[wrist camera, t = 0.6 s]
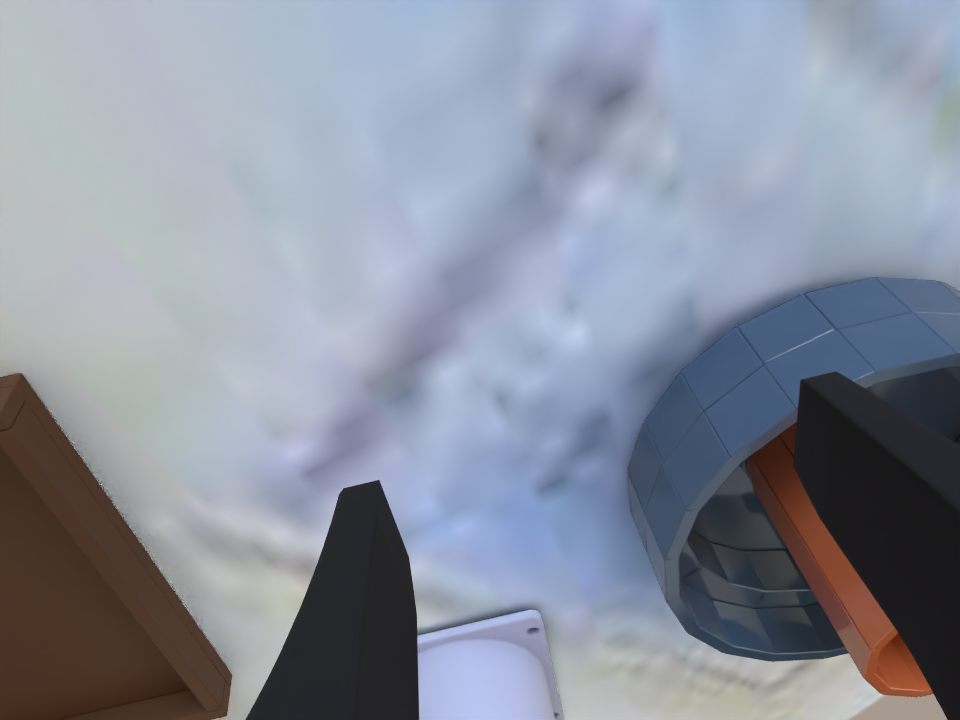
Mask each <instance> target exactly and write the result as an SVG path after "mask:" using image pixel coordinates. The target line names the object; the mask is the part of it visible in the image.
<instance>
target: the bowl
mask: <svg viewBox="0 0 960 720" xmlns="http://www.w3.org/2000/svg"><path fill="white" fill-rule="evenodd" d="M835 371H837V372H838V373H840V374H842V375H844V376H845V377H847V378H849V379H850V380H852V381H854V382H855V383H857V384H858V385H860V386H862V387H863V388H865V389H867V390H868V391H870V392H871V393H873V394H875V395H876V396H878V397H880V398H881V399H883V400H884V401H886V402H888V403H889V404H891V405H893V406H894V407H896V408H897V409H899V410H901V411H902V412H904V413H906V414H907V415H909V416H911V417H912V418H914V419H916V420H917V421H919V422H921V423H922V424H924V425H926V426H927V427H929V428H931V429H932V430H934V431H936V432H937V433H939V434H941V435H943V436H944V437H946V438H948V439H950V440H951V441H953V442H955V443H957V444H958V445H960V291H959V290H957V289H955V288H953V287H951V286H949V285H946V284H944V283H942V282H940V281H933V280H915V279H897V278H878V277H876V278H868V279H864V280H859V281H855V282H851V283H846V284H842V285H838V286H833V287H829V288H824V289H820V290H816V291H811V292H807V293H805V294H804V295H800V296H798V297H796V298H794V299H792V300H790V301H788V302H786V303H784V304H782V305H780V306H778V307H776V308H774V309H772V310H770V311H768V312H765V313H763V314H761V315H759V316H757V317H755V318H753V319H751V320H749V321H747V322H745V323H743V324H741V325H739V326H738V327H737V328H736V327H735V328H733V329H732V330H731V331H730V332H728V333H727V334H726V335H725V336H723V337H722V338H721V339H720V340H719V341H717V342H716V343H715V344H714V345H712V346H711V347H710V348H709V349H707V350H706V351H705V352H704V353H703V354H701V355H700V356H699V357H698V358H696V359H695V360H694V361H693V362H692V363H690V364H689V365H688V366H687V367H685V368H684V369H683V370H682V371H681V373H680V374H679V375H678V376H677V377H676V379H675V380H674V381H673V383H672V384H671V385H670V387H669V388H668V389H667V391H666V392H665V394H664V395H663V396H662V398H661V399H660V400H659V402H658V403H657V404H656V406H655V407H654V408H653V410H652V411H651V412H650V414H649V415H648V416H647V418H646V419H645V421H644V423H643V425H642V428H641V431H640V434H639V437H638V440H637V443H636V446H635V449H634V452H633V455H632V458H631V461H630V464H629V467H628V472H627V475H628V487H629V499H630V511H631V514H632V517H633V519H634V522H635V524H636V527H637V529H638V532H639V534H640V537H641V539H642V542H643V544H644V547H645V549H646V552H647V554H648V557H649V560H650V562H651V565H652V567H653V570H654V572H655V575H656V577H657V580H658V582H659V585H660V587H661V590H662V593H663V595H664V598H665V600H666V602H667V604H668V605H669V607H670V608H671V610H672V611H673V613H674V614H675V616H676V617H677V619H678V620H679V622H680V623H681V625H682V626H683V628H684V629H685V631H686V632H687V633H688V634H690V635H691V636H693V637H695V638H697V639H699V640H700V641H702V642H704V643H706V644H708V645H709V646H711V647H713V648H715V649H717V650H719V651H720V652H722V653H725V654H730V655H736V656H741V657H747V658H753V659H758V660H764V661H772V662H774V661H793V660H811V659H824V658H830V657H834V656H838V655H843V654H847V653H849V652H848V651H847V649H846V647H845V646H844V644H843V642H842V641H841V639H840V637H839V635H838V634H837V632H836V630H835V629H834V627H833V625H832V623H831V622H830V620H829V618H828V617H827V615H826V613H825V612H824V610H823V608H822V606H821V605H820V603H819V601H818V600H817V598H816V596H815V594H814V593H813V591H812V589H811V588H810V586H809V584H808V583H807V581H806V579H805V577H804V576H803V574H802V572H801V571H800V569H799V567H798V566H797V564H796V562H795V560H794V559H793V557H792V555H791V554H790V552H789V550H788V548H787V547H786V545H785V543H784V542H783V540H782V538H781V537H780V535H779V533H778V531H777V530H776V528H775V526H774V525H773V523H772V521H771V519H770V518H769V516H768V514H767V513H766V511H765V509H764V508H763V506H762V504H761V502H760V501H759V499H758V497H757V496H756V494H755V492H754V490H753V485H752V483H751V481H750V479H749V477H748V473H747V460H748V457H750V456H751V455H752V454H754V453H755V452H756V451H758V450H759V449H760V448H762V447H763V446H765V445H766V444H767V443H769V442H770V441H771V440H773V439H774V438H775V437H777V436H778V435H780V434H781V433H782V432H784V431H785V430H786V429H788V428H789V427H790V426H792V425H793V424H794V423H796V422H797V414H798V403H799V391H800V380H801V379H806V378H810V377H814V376H818V375H822V374H827V373H831V372H835Z"/></svg>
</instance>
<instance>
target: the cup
mask: <svg viewBox="0 0 960 720" xmlns="http://www.w3.org/2000/svg"><path fill="white" fill-rule="evenodd" d="M796 425H797V422H796V423H794V424H793V425H792V426H790V427H789V428H788V429H786V430H785V431H784V432H782V433H781V434H780V435H778V436H777V437H775V438H774V439H773V440H771V441H770V442H769V443H767V444H766V445H765V446H763V447H762V448H760V449H759V450H758V451H756V452H755V453H754V454H752V455H751V456H750V457H748V460H747V473H748V477H749V479H750V481H751V483H752V485H753V490H754V492H755V494H756V496H757V497H758V499H759V501H760V502H761V504H762V506H763V508H764V509H765V511H766V513H767V514H768V516H769V518H770V519H771V521H772V523H773V525H774V526H775V528H776V530H777V531H778V533H779V535H780V537H781V538H782V540H783V542H784V543H785V545H786V547H787V548H788V550H789V552H790V554H791V555H792V557H793V559H794V560H795V562H796V564H797V566H798V567H799V569H800V571H801V572H802V574H803V576H804V577H805V579H806V581H807V583H808V584H809V586H810V588H811V589H812V591H813V593H814V594H815V596H816V598H817V600H818V601H819V603H820V605H821V606H822V608H823V610H824V612H825V613H826V615H827V617H828V618H829V620H830V622H831V623H832V625H833V627H834V629H835V630H836V632H837V634H838V635H839V637H840V639H841V641H842V642H843V644H844V646H845V647H846V649H847V651H848V652H849V654H850V656H851V658H852V659H853V661H854V663H855V664H856V666H857V668H858V670H859V671H860V673H861V675H862V676H863V678H864V679H865V680H866V681H867V682H868V683H870V684H871V685H872V686H873V687H874V688H875V689H876V690H877V691H878V692H879V693H881V694H883V695H894V696H907V697H918V696H919V697H922V696H926V695H931V694H933V692H932V690H931V688H930V686H929V684H928V683H927V681H926V679H925V677H924V675H923V674H922V672H921V670H920V668H919V666H918V665H917V663H916V661H915V659H914V657H913V656H912V654H911V652H910V651H909V649H908V648H907V646H906V645H905V643H904V641H903V640H902V638H901V637H900V635H899V633H898V632H897V630H896V629H895V627H894V626H893V624H892V623H891V622H890V620H889V619H888V617H887V616H886V614H885V613H884V611H883V610H882V609H881V607H880V606H879V604H878V603H877V601H876V600H875V598H874V597H873V596H872V594H871V593H870V591H869V590H868V588H867V587H866V585H865V584H864V583H863V581H862V580H861V578H860V577H859V575H858V574H857V572H856V571H855V570H854V568H853V567H852V565H851V564H850V562H849V561H848V559H847V558H846V556H845V555H844V554H843V552H842V551H841V549H840V548H839V546H838V545H837V543H836V542H835V540H834V539H833V537H832V536H831V534H830V533H829V531H828V530H827V528H826V527H825V525H824V524H823V522H822V521H821V519H820V518H819V516H818V514H817V512H816V510H815V508H814V507H813V505H812V503H811V501H810V499H809V497H808V495H807V493H806V491H805V489H804V487H803V485H802V483H801V481H800V479H799V477H798V475H797V473H796V471H795V469H794V467H793V459H794V448H795V437H796Z"/></svg>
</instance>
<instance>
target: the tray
mask: <svg viewBox="0 0 960 720" xmlns="http://www.w3.org/2000/svg"><path fill="white" fill-rule="evenodd" d="M231 679H232V674H231V673H230V671H229V670H228V669H227V667H226V666H225V664H224V663H223V661H222V660H221V659H220V657H219V656H218V654H217V653H216V651H215V650H214V648H213V647H212V646H211V644H210V643H209V641H208V640H207V638H206V637H205V636H204V634H203V633H202V631H201V630H200V628H199V627H198V626H197V624H196V623H195V621H194V620H193V618H192V617H191V616H190V614H189V613H188V611H187V610H186V608H185V607H184V605H183V604H182V603H181V601H180V600H179V598H178V597H177V595H176V594H175V593H174V591H173V590H172V588H171V587H170V585H169V584H168V583H167V581H166V580H165V578H164V577H163V575H162V574H161V573H160V571H159V570H158V568H157V567H156V565H155V564H154V562H153V561H152V560H151V558H150V557H149V555H148V554H147V552H146V551H145V550H144V548H143V547H142V545H141V544H140V542H139V541H138V540H137V538H136V537H135V535H134V534H133V532H132V531H131V530H130V528H129V527H128V525H127V524H126V522H125V521H124V519H123V518H122V517H121V515H120V514H119V512H118V511H117V509H116V508H115V507H114V505H113V504H112V502H111V501H110V499H109V498H108V497H107V495H106V494H105V492H104V491H103V489H102V488H101V486H100V485H99V484H98V482H97V481H96V479H95V478H94V476H93V475H92V474H91V472H90V471H89V469H88V468H87V466H86V465H85V464H84V462H83V461H82V459H81V458H80V456H79V455H78V454H77V452H76V451H75V449H74V448H73V446H72V445H71V443H70V442H69V441H68V439H67V438H66V436H65V435H64V433H63V432H62V431H61V429H60V428H59V426H58V425H57V423H56V422H55V421H54V419H53V418H52V416H51V415H50V413H49V412H48V411H47V409H46V408H45V406H44V405H43V403H42V402H41V400H40V399H39V398H38V396H37V395H36V393H35V392H34V390H33V389H32V388H31V386H30V385H29V383H28V382H27V380H26V379H25V378H24V376H23V375H22V374H21V373H19V374H15V375H10V376H6V377H2V378H0V720H212V719H217V718H221V717H225V716H227V711H228V703H229V696H230V687H231Z"/></svg>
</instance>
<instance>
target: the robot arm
mask: <svg viewBox="0 0 960 720" xmlns="http://www.w3.org/2000/svg"><path fill="white" fill-rule="evenodd" d="M793 467H794V469H795V471H796V473H797V475H798V477H799V479H800V481H801V483H802V485H803V487H804V489H805V491H806V493H807V495H808V497H809V499H810V501H811V503H812V505H813V507H814V508H815V510H816V512H817V514H818V516H819V518H820V519H821V521H822V522H823V524H824V525H825V527H826V528H827V530H828V531H829V533H830V534H831V536H832V537H833V539H834V540H835V542H836V543H837V545H838V546H839V548H840V549H841V551H842V552H843V554H844V555H845V556H846V558H847V559H848V561H849V562H850V564H851V565H852V567H853V568H854V570H855V571H856V572H857V574H858V575H859V577H860V578H861V580H862V581H863V583H864V584H865V585H866V587H867V588H868V590H869V591H870V593H871V594H872V596H873V597H874V598H875V600H876V601H877V603H878V604H879V606H880V607H881V609H882V610H883V611H884V613H885V614H886V616H887V617H888V619H889V620H890V622H891V623H892V624H893V626H894V627H895V629H896V630H897V632H898V633H899V635H900V637H901V638H902V640H903V641H904V643H905V645H906V646H907V648H908V649H909V651H910V652H911V654H912V656H913V657H914V659H915V661H916V663H917V665H918V666H919V668H920V670H921V672H922V674H923V675H924V677H925V679H926V681H927V683H928V684H929V686H930V688H931V690H932V692H933V694H934V695H935V697H936V699H937V701H938V703H939V704H940V706H941V708H942V710H943V712H944V714H945V715H946V717H947V719H948V720H960V445H958V444H957V443H955V442H953V441H951V440H950V439H948V438H946V437H944V436H943V435H941V434H939V433H937V432H936V431H934V430H932V429H931V428H929V427H927V426H926V425H924V424H922V423H921V422H919V421H917V420H916V419H914V418H912V417H911V416H909V415H907V414H906V413H904V412H902V411H901V410H899V409H897V408H896V407H894V406H893V405H891V404H889V403H888V402H886V401H884V400H883V399H881V398H880V397H878V396H876V395H875V394H873V393H871V392H870V391H868V390H867V389H865V388H863V387H862V386H860V385H858V384H857V383H855V382H854V381H852V380H850V379H849V378H847V377H845V376H844V375H842V374H840V373H838V372H837V371H835V372H831V373H827V374H822V375H818V376H814V377H810V378H806V379H801V380H800V391H799V403H798V414H797V425H796V437H795V448H794V459H793ZM246 720H564V716H563V712H562V707H561V702H560V698H559V693H558V689H557V684H556V680H555V675H554V670H553V666H552V661H551V657H550V652H549V648H548V643H547V638H546V634H545V629H544V625H543V620H542V616H541V614H540V612H538V611H537V610H526V611H521V612H517V613H513V614H508V615H504V616H500V617H495V618H491V619H487V620H482V621H478V622H474V623H469V624H465V625H461V626H457V627H452V628H448V629H444V630H439V631H435V632H431V633H426V634H422V635H418V636H417V613H416V606H415V598H414V590H413V583H412V576H411V569H410V562H409V556H408V554H407V551H406V549H405V546H404V543H403V541H402V538H401V536H400V533H399V530H398V528H397V525H396V523H395V520H394V517H393V515H392V512H391V510H390V507H389V504H388V502H387V499H386V497H385V494H384V491H383V489H382V486H381V484H380V481H379V480H377V481H373V482H369V483H364V484H360V485H356V486H352V487H347V488H344V489H343V490H342V491H341V493H340V494H339V497H338V500H337V504H336V508H335V511H334V515H333V518H332V522H331V525H330V528H329V531H328V534H327V537H326V540H325V543H324V546H323V549H322V552H321V555H320V558H319V561H318V564H317V566H316V569H315V571H314V574H313V577H312V579H311V582H310V584H309V587H308V590H307V592H306V595H305V598H304V600H303V603H302V605H301V607H300V610H299V612H298V614H297V617H296V619H295V621H294V623H293V626H292V628H291V630H290V632H289V635H288V637H287V639H286V641H285V644H284V646H283V648H282V650H281V653H280V655H279V657H278V659H277V661H276V663H275V665H274V667H273V669H272V671H271V673H270V675H269V677H268V679H267V681H266V683H265V685H264V687H263V689H262V691H261V692H260V694H259V696H258V698H257V700H256V702H255V703H254V705H253V707H252V709H251V711H250V713H249V714H248V716H247V718H246Z"/></svg>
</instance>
